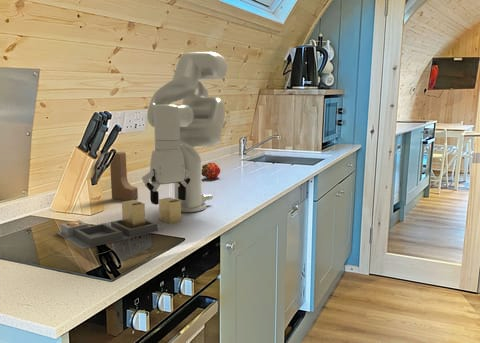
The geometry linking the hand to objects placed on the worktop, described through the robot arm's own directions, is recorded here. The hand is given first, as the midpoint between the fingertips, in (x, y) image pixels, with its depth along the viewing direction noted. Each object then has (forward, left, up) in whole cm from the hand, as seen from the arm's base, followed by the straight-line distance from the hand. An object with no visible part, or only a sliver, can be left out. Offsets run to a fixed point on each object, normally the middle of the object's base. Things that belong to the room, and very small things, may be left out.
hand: (168, 201), depth 140 cm
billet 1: (+12, 0, -6) cm, 14 cm away
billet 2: (-1, -1, -8) cm, 8 cm away
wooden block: (-7, -42, -8) cm, 43 cm away
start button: (+26, -9, -6) cm, 28 cm away
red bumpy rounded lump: (-57, -52, -8) cm, 77 cm away
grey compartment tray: (+18, -3, -8) cm, 20 cm away
